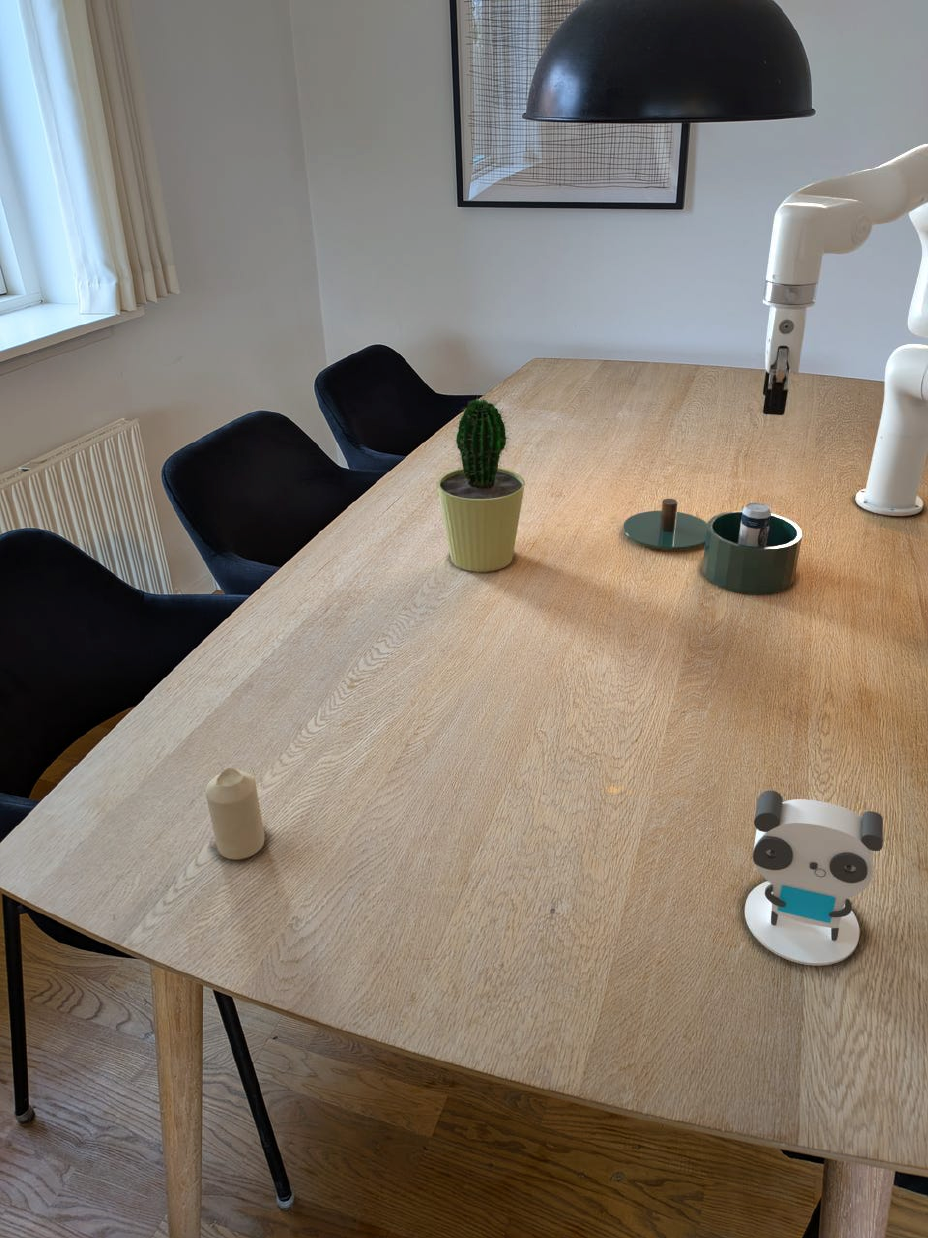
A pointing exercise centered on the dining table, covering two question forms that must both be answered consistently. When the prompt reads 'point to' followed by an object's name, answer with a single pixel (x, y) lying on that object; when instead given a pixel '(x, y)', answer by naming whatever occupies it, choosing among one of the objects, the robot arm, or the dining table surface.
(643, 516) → the lid
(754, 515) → the beer can
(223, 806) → the candle
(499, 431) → the potted cactus
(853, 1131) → the dining table surface
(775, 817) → the panda figurine
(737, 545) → the pot
